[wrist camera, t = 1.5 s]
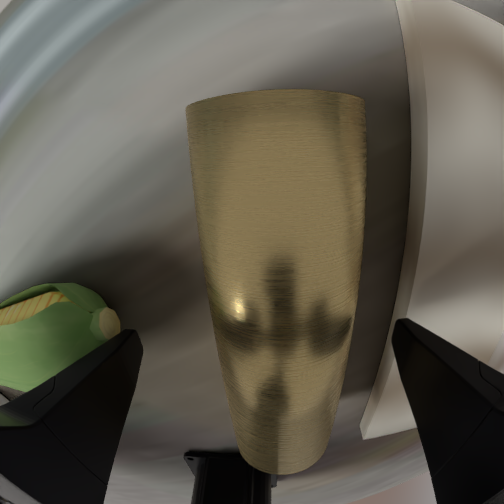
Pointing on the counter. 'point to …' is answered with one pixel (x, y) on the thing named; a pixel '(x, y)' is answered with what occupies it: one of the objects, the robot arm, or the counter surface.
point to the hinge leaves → (449, 195)
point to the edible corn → (50, 331)
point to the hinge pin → (281, 259)
